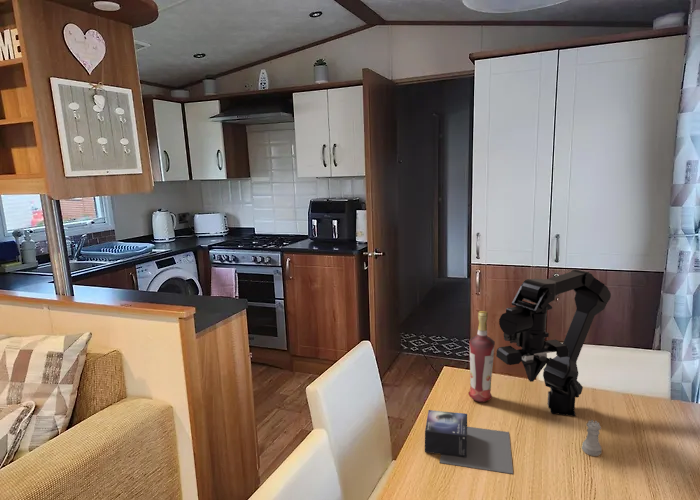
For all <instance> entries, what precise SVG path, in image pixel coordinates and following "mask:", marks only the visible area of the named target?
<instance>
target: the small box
mask: <svg viewBox="0 0 700 500" xmlns="http://www.w3.org/2000/svg"><path fill="white" fill-rule="evenodd" d="M467 427H468V413H464V412H463V413H462V412H451V411H442V410H441V411H440V410H433V409H432V410H431V409H429V410H428V412H427V417H426V423H425V429H424V453H430V454H436V455H437V454H438V455H441V454H446V455H453V456H460V457H467Z"/></svg>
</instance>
